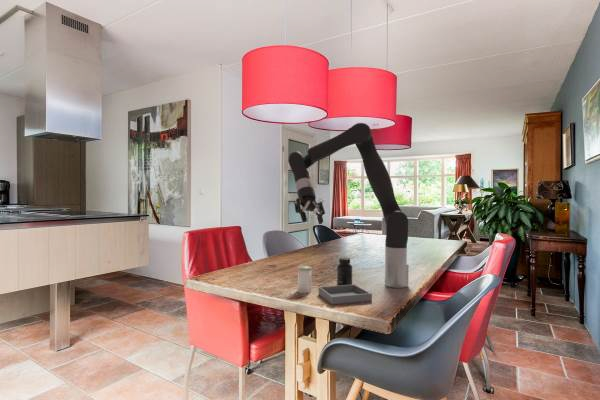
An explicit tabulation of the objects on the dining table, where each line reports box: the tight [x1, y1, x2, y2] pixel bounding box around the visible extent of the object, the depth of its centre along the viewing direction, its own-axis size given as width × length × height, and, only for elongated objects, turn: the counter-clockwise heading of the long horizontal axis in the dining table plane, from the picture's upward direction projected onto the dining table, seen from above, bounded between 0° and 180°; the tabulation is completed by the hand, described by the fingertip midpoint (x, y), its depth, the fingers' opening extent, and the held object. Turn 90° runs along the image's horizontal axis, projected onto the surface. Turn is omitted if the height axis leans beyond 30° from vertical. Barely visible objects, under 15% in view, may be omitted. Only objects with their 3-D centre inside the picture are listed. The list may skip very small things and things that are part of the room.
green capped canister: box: [297, 265, 313, 294], centre depth 142 cm, size 6×6×10 cm
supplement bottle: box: [336, 257, 353, 286], centre depth 152 cm, size 7×7×12 cm
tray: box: [318, 283, 373, 306], centre depth 133 cm, size 16×14×3 cm
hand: (313, 222), depth 146 cm, fingers open, 8 cm apart
